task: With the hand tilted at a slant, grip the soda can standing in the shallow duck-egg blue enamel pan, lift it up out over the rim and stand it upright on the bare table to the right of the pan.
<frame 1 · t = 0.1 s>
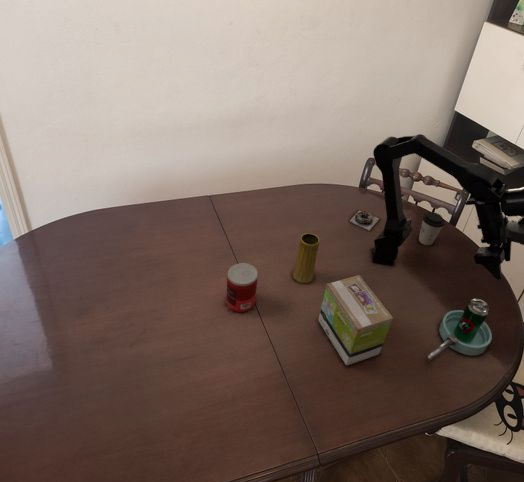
hand: (503, 269, 121), 15 cm above the table, tool tilted 35°, fingers open, 9 cm apart
soda can: (462, 336, 122), resting on pan
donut: (364, 221, 159), on the table
vase: (302, 276, 135), on the table
coffee cup: (425, 241, 153), on the table
pan: (462, 336, 122), on the table
tea box: (347, 338, 118), on the table
pan handle: (440, 348, 114), point 2 cm above the table
canned food: (240, 302, 125), on the table
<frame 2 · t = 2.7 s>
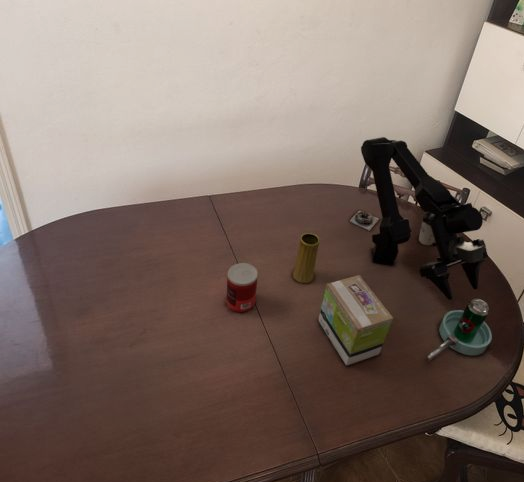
hand: (463, 294, 118), 11 cm above the table, tool tilted 45°, fingers open, 9 cm apart
nothing on the table moved.
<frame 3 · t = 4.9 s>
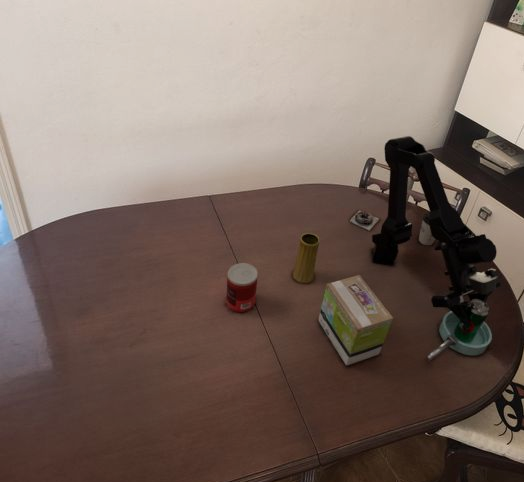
hand: (475, 324, 117), 7 cm above the table, tool tilted 45°, fingers closed on soda can, 5 cm apart
soda can: (462, 336, 122), resting on pan, touching gripper
everything else where it was.
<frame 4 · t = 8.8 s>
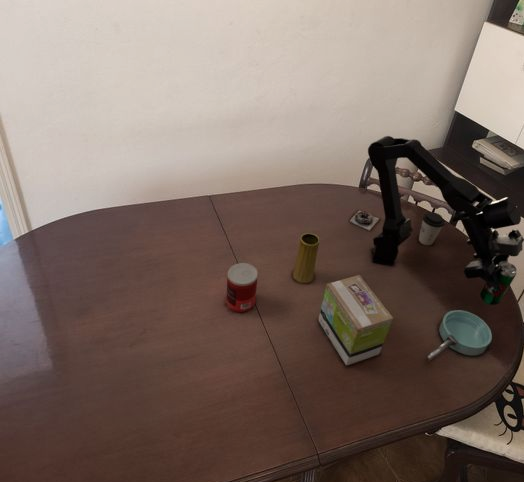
hand: (503, 285, 119), 13 cm above the table, tool tilted 45°, fingers closed on soda can, 5 cm apart
soda can: (488, 299, 124), point 7 cm above the table, touching gripper
everything else where it was.
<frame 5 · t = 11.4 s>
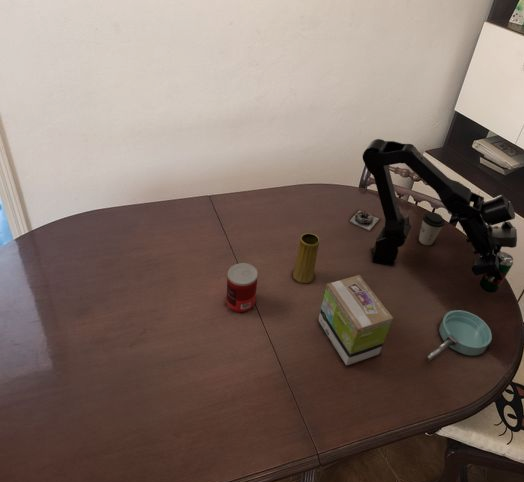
hand: (501, 273, 128), 10 cm above the table, tool tilted 45°, fingers closed on soda can, 5 cm apart
soda can: (487, 287, 133), point 3 cm above the table, touching gripper
everything else where it was.
when the fingers open (6 cm above the table, at t = 12.9 s): soda can stays where it is, on the table.
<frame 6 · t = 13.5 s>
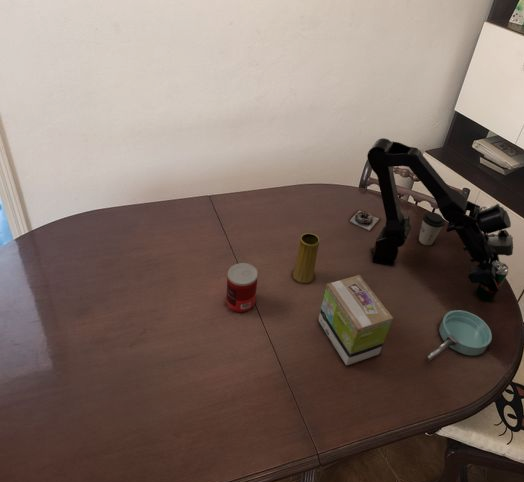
hand: (498, 281, 130), 7 cm above the table, tool tilted 45°, fingers open, 9 cm apart
soda can: (483, 296, 135), on the table
everything else where it was.
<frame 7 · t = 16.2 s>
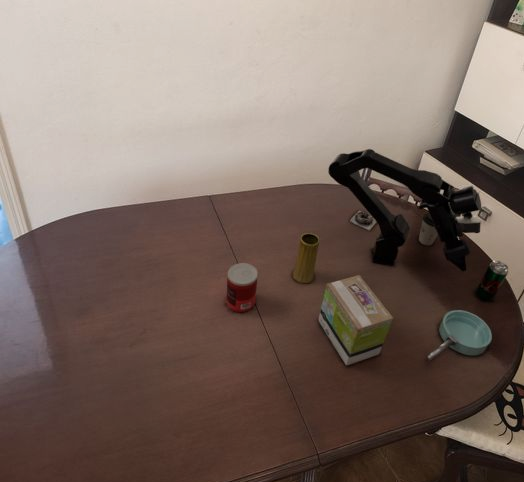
hand: (461, 262, 132), 9 cm above the table, tool tilted 35°, fingers open, 9 cm apart
nothing on the table moved.
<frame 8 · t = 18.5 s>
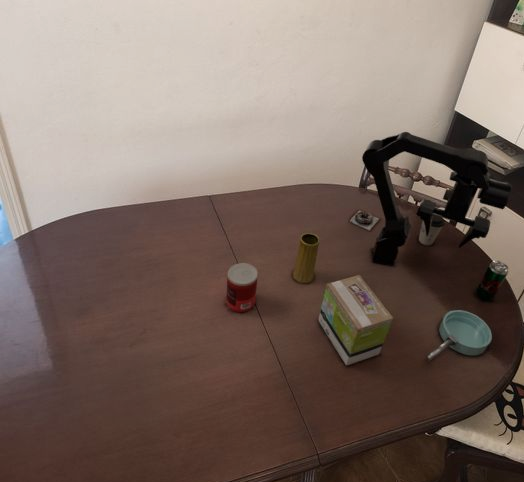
hand: (443, 241, 132), 13 cm above the table, tool pointing down, fingers open, 9 cm apart
nothing on the table moved.
at the end: soda can inside the target area (0.1 cm from its centre), on the table; soda can tilted 0°; the gripper is holding nothing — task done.
